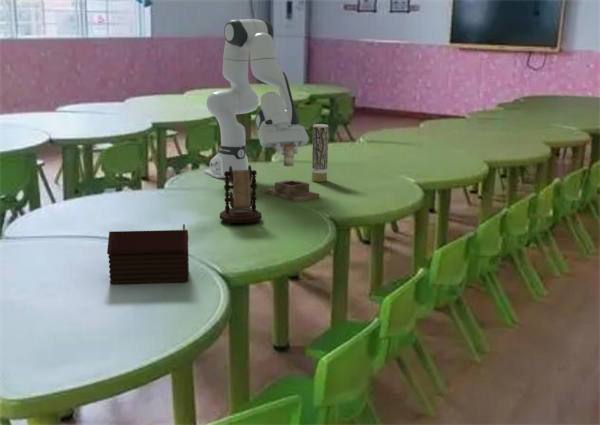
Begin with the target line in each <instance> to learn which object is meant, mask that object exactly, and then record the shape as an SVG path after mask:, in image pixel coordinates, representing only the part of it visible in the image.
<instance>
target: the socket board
mask: <svg viewBox="0 0 600 425" xmlns="http://www.w3.org/2000/svg"><path fill="white" fill-rule="evenodd" d="M264 193H265V194H267V195H268V194H269V195H271V196H275V197H279V198H282V199H284V200H285V199H286V200H288V201H293V202H295V203H296V202H297V203H299V202H303V201H309V200H314V199H319V198H320V193H316V192H313V191H310V183H308V182H303V181H300V180H296V179H289V180H288V179H287V180H283V181H282V180H281V181H278V182H277V181H276V182H274V187H270V188H264Z"/></svg>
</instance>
